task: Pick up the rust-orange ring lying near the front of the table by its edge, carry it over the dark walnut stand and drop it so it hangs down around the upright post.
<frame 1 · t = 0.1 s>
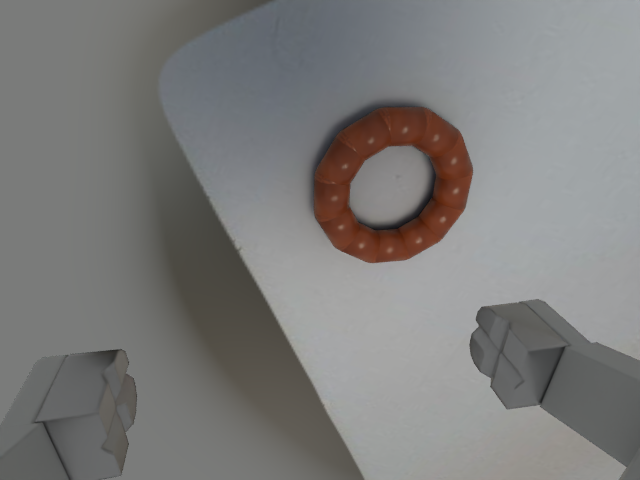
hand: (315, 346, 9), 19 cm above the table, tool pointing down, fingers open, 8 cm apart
ring: (393, 190, 28), point 1 cm above the table
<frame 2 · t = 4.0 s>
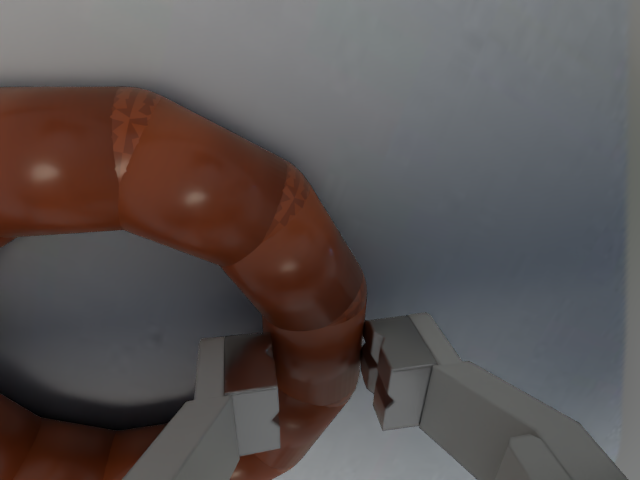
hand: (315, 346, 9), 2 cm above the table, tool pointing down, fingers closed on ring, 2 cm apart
ring: (118, 354, 9), point 1 cm above the table, touching gripper
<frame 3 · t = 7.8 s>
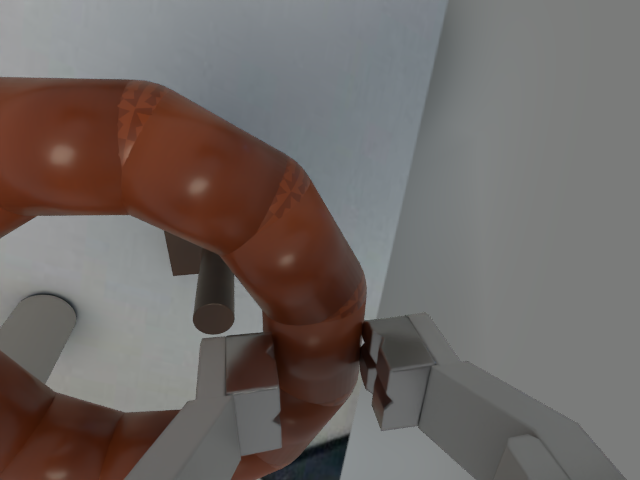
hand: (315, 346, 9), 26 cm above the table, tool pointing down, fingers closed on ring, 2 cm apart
ring: (124, 336, 9), point 25 cm above the table, tilted 6°, touching gripper
post: (219, 221, 35), on the table
beverage can: (49, 311, 36), on the table
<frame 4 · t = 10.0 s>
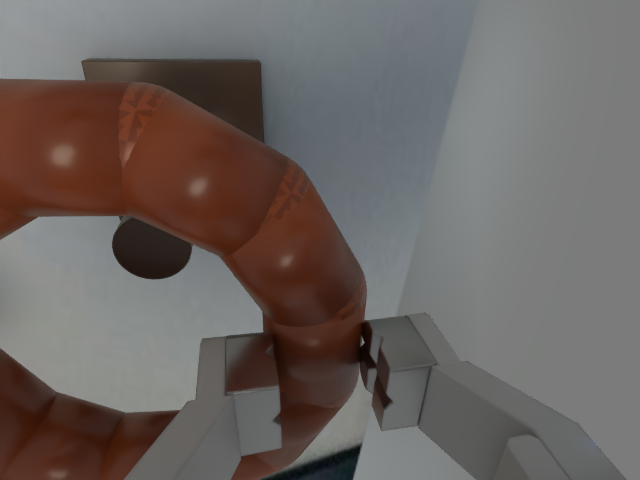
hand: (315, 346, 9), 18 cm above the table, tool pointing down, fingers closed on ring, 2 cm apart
ring: (125, 336, 9), point 17 cm above the table, tilted 7°, touching gripper
post: (187, 140, 24), on the table
when the fingers open (13 cm above the table, at t = 11.7 s): ring drops 9 cm, resting on post.
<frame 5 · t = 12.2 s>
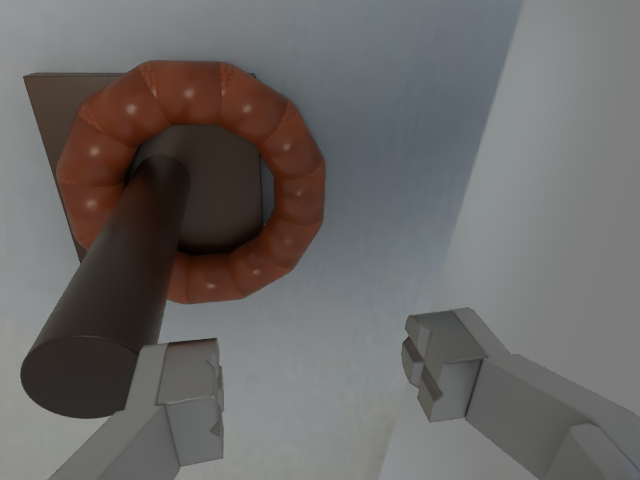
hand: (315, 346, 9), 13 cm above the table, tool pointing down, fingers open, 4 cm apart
ring: (203, 196, 18), point 2 cm above the table, touching post
post: (166, 172, 20), on the table
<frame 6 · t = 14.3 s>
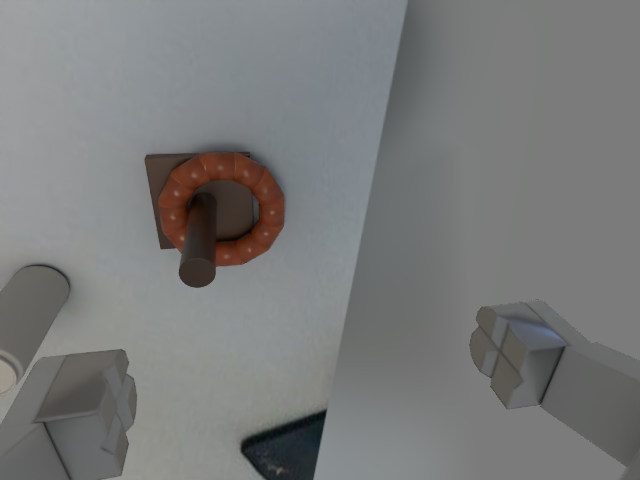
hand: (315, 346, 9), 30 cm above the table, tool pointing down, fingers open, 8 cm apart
ring: (224, 212, 37), point 2 cm above the table, touching post
post: (204, 199, 39), on the table
beverage can: (44, 282, 39), on the table
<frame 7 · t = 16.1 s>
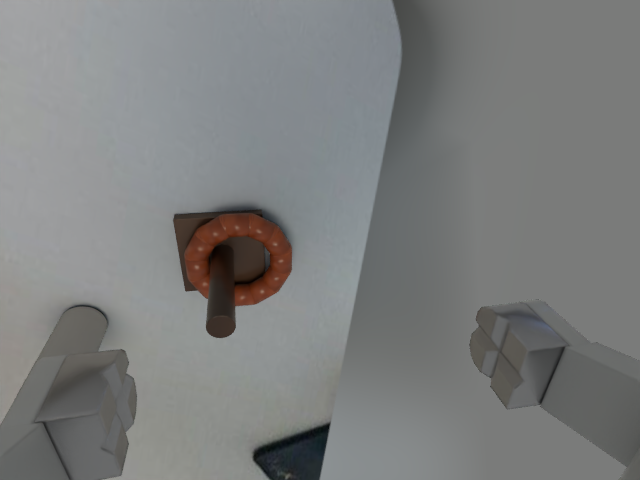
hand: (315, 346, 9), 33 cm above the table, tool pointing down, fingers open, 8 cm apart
ring: (240, 261, 43), point 2 cm above the table, touching post
post: (222, 248, 45), on the table
beverage can: (86, 319, 46), on the table
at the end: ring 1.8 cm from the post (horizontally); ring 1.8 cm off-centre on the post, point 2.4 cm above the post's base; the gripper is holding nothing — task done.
